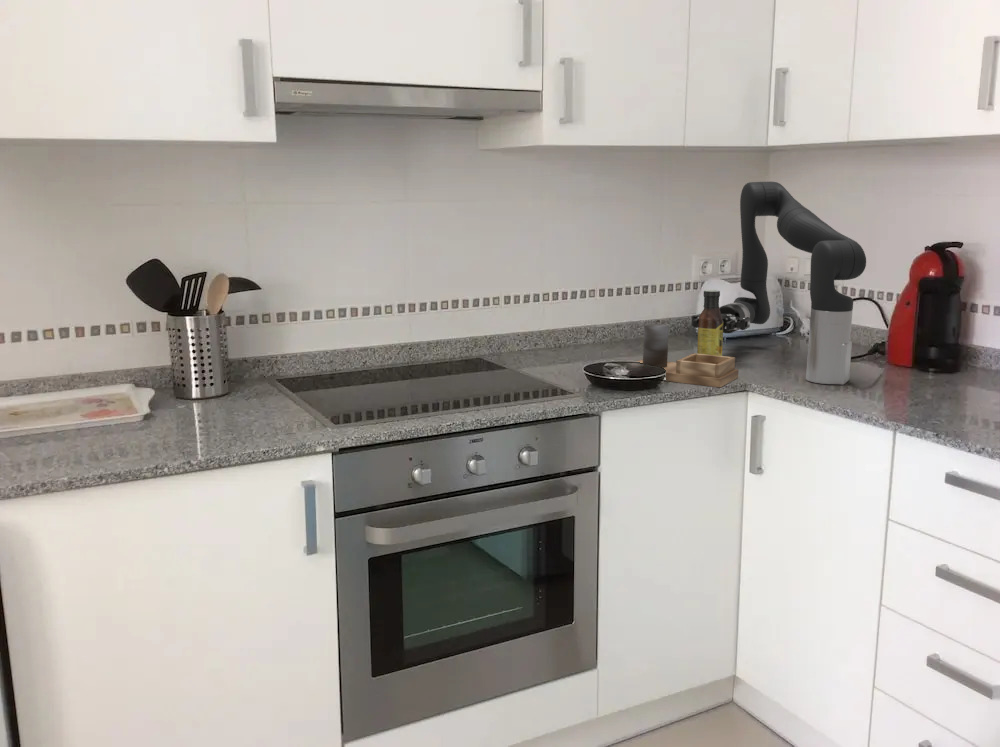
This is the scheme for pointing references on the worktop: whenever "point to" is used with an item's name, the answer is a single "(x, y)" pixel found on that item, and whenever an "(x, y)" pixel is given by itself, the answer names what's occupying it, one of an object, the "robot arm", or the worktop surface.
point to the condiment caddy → (686, 361)
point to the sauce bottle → (710, 325)
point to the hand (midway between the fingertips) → (711, 325)
